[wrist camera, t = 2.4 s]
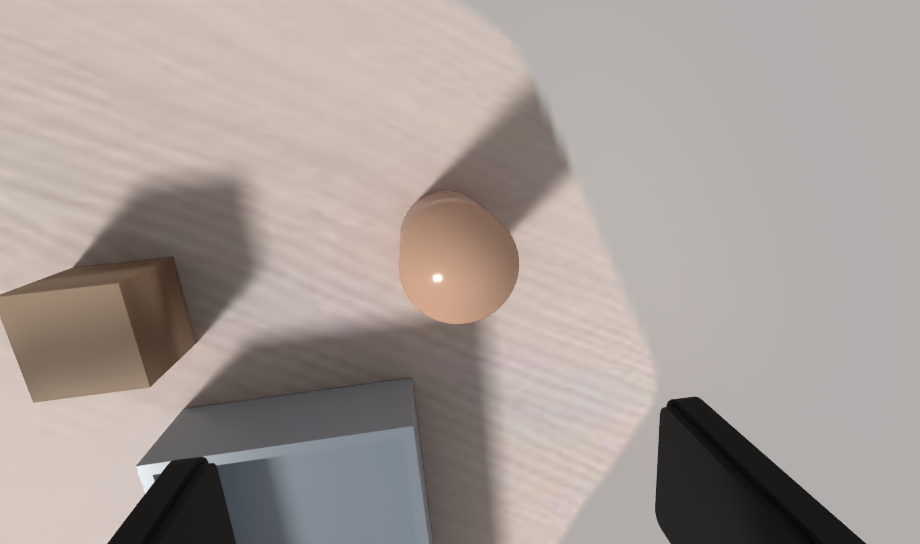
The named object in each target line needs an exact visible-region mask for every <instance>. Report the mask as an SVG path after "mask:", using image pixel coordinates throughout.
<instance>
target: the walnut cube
mask: <svg viewBox="0 0 920 544" xmlns="http://www.w3.org/2000/svg"><path fill="white" fill-rule="evenodd" d="M0 317H1V320H2V323H3V325H4V328H5V330H6V333H7V335H8V338H9V341H10V343H11V346H12V348H13V351H14V354H15V356H16V359H17V361H18V364H19V367H20V369H21V372H22V374H23V377H24V379H25V382H26V385H27V387H28V390H29V392H30V395H31V398H32V400H33V403H34V402H41V401H49V400H56V399H64V398H72V397H79V396H87V395H95V394H102V393H110V392H117V391H125V390H133V389H140V388H148V387H151V386H152V385H153V384H154V383H155V382H156V381H157V380H158V379H159V378H160V377H161V376H162V375H163V374H164V373H165V372H166V371H168V370H169V369H170V368H171V367H172V366H173V365H174V364H175V363H176V362H177V361H178V360H179V359H180V358H181V357H182V356H183V355H184V354H185V353H186V352H187V351H188V350H190V349H191V348H192V347H193V346H194V345H195V344H196V340H195V337H194V333H193V329H192V325H191V322H190V318H189V314H188V310H187V307H186V303H185V299H184V295H183V292H182V288H181V284H180V281H179V277H178V273H177V269H176V266H175V262H174V258H173V257H165V258H156V259H147V260H138V261H129V262H120V263H110V264H101V265H92V266H83V267H74V268H70V269H68V270H65V271H62V272H60V273H57V274H54V275H52V276H49V277H46V278H44V279H41V280H38V281H36V282H33V283H30V284H28V285H25V286H22V287H19V288H17V289H14V290H11V291H9V292H6V293H3V294H1V295H0Z"/></svg>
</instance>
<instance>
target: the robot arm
mask: <svg viewBox="0 0 920 544" xmlns="http://www.w3.org/2000/svg"><path fill="white" fill-rule="evenodd" d="M658 445H659V446H658V464H657V483H656V503H655V513H656V517H657V521H658V523H659V526H660V528H661V529H662V531H663V532H664V534H665V536H666V537H667V538H668V540H669V542H670V543H671V544H866V543H865V542H863V541H862V540H861V539H860V538H859V537H858V536H857V535H856V534H854V533H853V532H852V531H851V530H850V529H848V527H846V526H845V525H844V524H843V523H842V522H841V521H840V520H838V519H837V518H836V517H835V516H834V515H833V514H832V513H830V512H829V511H828V510H827V509H826V508H825V507H824V506H822V505H821V504H820V503H819V502H818V501H817V500H815V499H814V498H813V497H812V496H811V495H810V494H809V493H807V492H806V491H805V490H804V489H803V488H802V487H801V486H800V485H798V484H797V483H796V482H795V481H794V480H793V479H792V478H790V477H789V476H788V475H787V474H786V473H785V472H783V471H782V470H781V469H780V468H779V467H778V466H777V465H776V464H774V463H773V462H772V461H771V460H770V459H769V458H768V457H766V456H765V455H764V454H763V453H762V452H761V451H759V449H757V448H756V447H755V446H754V445H753V444H752V443H751V442H749V441H748V440H747V439H746V438H745V437H744V436H743V435H741V434H740V433H739V432H738V431H737V430H736V429H735V428H733V427H732V426H731V425H730V424H729V423H728V422H727V421H725V420H724V419H723V418H722V417H721V416H720V415H719V414H717V413H716V412H715V411H714V410H713V409H712V408H711V407H709V406H708V405H707V404H706V403H705V402H704V401H703V400H701V399H700V398H698V397H688V398H680V399H672V400H670V401H668V403H667V407H664V408H662V410H661V412H660V425H659V444H658ZM108 544H236V540H235V536H234V532H233V528H232V524H231V520H230V516H229V512H228V508H227V504H226V500H225V496H224V492H223V488H222V484H221V480H220V476H219V472H218V468H217V466H216V464H215V463H208V460H207V459H206V458H205V457H194V458H186V459H178V460H173V461H171V462H170V463H169V464H168V465H167V466H166V467H165V469H164V470H163V471H162V473H161V474H160V475H159V477H158V478H157V479H156V481H155V482H154V483H153V484H152V486H151V487H150V488H149V490H148V491H147V492H146V494H145V495H144V496H143V498H142V499H141V500H140V502H139V503H138V504H137V505H136V507H135V508H134V509H133V511H132V512H131V513H130V515H129V516H128V517H127V519H126V520H125V521H124V523H123V524H122V525H121V526H120V528H119V529H118V530H117V532H116V533H115V534H114V536H113V537H112V538H111V540H110V541H109V542H108Z"/></svg>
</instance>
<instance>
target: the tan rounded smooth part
mask: <svg viewBox="0 0 920 544" xmlns="http://www.w3.org/2000/svg"><path fill="white" fill-rule="evenodd" d="M518 271H519V257H518V251H517V248H516V245H515V242H514V240H513V238H512V236H511V234H510V233H509V231H508V230H507V229H506V228H505V226H504V225H503V224H502V223H500V222H499V221H498V220H497V219H496V218H495V217H493V216H492V215H491V214H490V213H489V212H487V211H486V210H485V209H484V208H482V207H481V206H480V205H479V204H478V203H476V202H475V201H474V200H472V199H471V198H470V197H468V196H466V195H464V194H461V193H458V192H454V191H438V192H434V193H430V194H428V195H426V196H424V197H422V198H421V199H419V200H418V201H417V202H416V203H414V204H413V206H412V207H411V208H410V209H409V211H408V212H407V214H406V216H405V218H404V220H403V223H402V228H401V240H400V261H399V272H400V279H401V283H402V286H403V289H404V291H405V293H406V295H407V297H408V298H409V300H410V301H411V303H412V304H413V305H414V306H415V307H416V308H417V309H418V310H419V311H421V312H422V313H423V314H425V315H426V316H428V317H430V318H432V319H434V320H437V321H440V322H444V323H449V324H466V323H471V322H475V321H478V320H481V319H483V318H485V317H487V316H489V315H490V314H492V313H494V312H495V311H496V310H497V309H499V308H500V307H501V306H502V305H503V304H504V303H505V301H506V300H507V299H508V297H509V296H510V294H511V292H512V291H513V289H514V286H515V284H516V281H517V277H518Z"/></svg>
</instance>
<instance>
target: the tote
mask: <svg viewBox="0 0 920 544" xmlns="http://www.w3.org/2000/svg"><path fill="white" fill-rule="evenodd" d="M194 457H205V458H206V459H207V460H208V463H215V464H216V466H217V468H218V472H219V476H220V480H221V484H222V488H223V492H224V496H225V500H226V504H227V508H228V512H229V516H230V520H231V524H232V528H233V532H234V536H235V540H236V544H433V537H432V529H431V522H430V514H429V506H428V499H427V491H426V484H425V476H424V468H423V461H422V453H421V445H420V438H419V430H418V423H417V415H416V407H415V400H414V392H413V384H412V378H406V379H399V380H392V381H384V382H377V383H370V384H362V385H355V386H348V387H340V388H333V389H326V390H318V391H311V392H303V393H296V394H289V395H281V396H274V397H267V398H259V399H252V400H245V401H237V402H230V403H223V404H215V405H208V406H201V407H193V408H186V409H183V410H182V411H181V413H180V414H179V415H178V416H177V417H176V419H175V420H174V421H173V422H172V423H171V425H170V426H169V427H168V428H167V429H166V431H165V432H164V433H163V434H162V435H161V437H160V438H159V439H158V440H157V441H156V443H155V444H154V445H153V446H152V447H151V449H150V450H149V451H148V452H147V453H146V455H145V456H144V457H143V458H142V459H141V461H140V462H139V463H138V464H137V465H136V468H137V471H138V474H139V477H140V480H141V483H142V486H143V489H144V492H145V494H146V492H147V491H148V490H149V488H150V487H151V486H152V484H153V483H154V482H155V481H156V479H157V478H158V477H159V475H160V474H161V473H162V471H163V470H164V469H165V467H166V466H167V465H168V464H169V463H170V462H171V461H173V460H178V459H186V458H194Z"/></svg>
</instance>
